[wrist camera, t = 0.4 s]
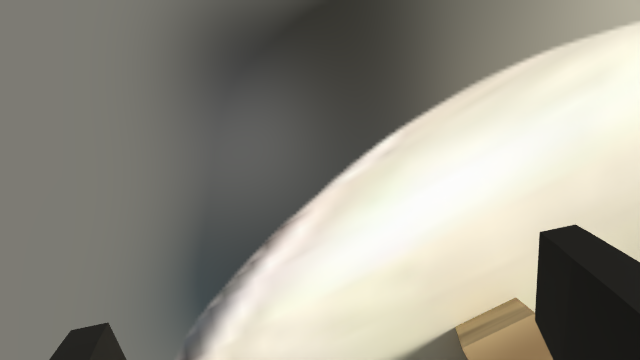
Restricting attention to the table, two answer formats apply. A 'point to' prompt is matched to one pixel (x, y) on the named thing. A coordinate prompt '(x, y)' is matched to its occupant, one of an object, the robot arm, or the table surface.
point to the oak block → (503, 335)
